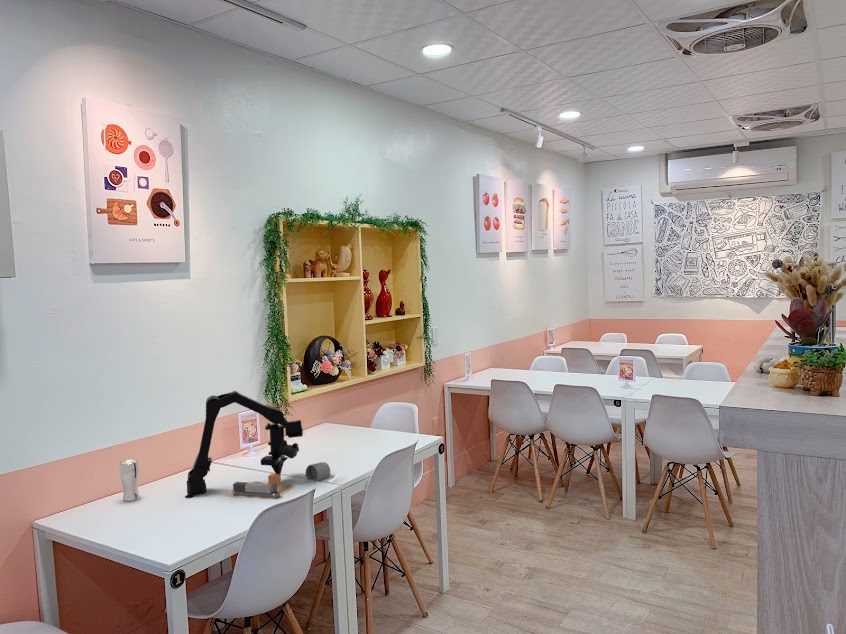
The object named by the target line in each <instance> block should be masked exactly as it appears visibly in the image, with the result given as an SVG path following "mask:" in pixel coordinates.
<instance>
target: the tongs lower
mask: <svg viewBox="0 0 846 634" xmlns="http://www.w3.org/2000/svg"><path fill="white" fill-rule="evenodd" d="M232 492H233V491H232ZM233 493H234V495H236V496H251V497H265V498H272V499H271V500H274V499H276V498H279V497H280V492H277V484H273V492H272V493H258V492H238V491H234V492H233ZM280 498H281V497H280ZM280 498H279V499H280Z"/></svg>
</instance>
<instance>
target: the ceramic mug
mask: <svg viewBox="0 0 846 634" xmlns="http://www.w3.org/2000/svg"><path fill="white" fill-rule="evenodd" d="M330 476H331V468H330V465H329V464H328V463H327V462H323V461H322V462H316V463H313V464H309V465H307V467H306V468H305V475H304V477H305V478H306V479H307V480H310V479H313V480H315V482H319V481H322V480H325V479H327V478H329V477H330Z"/></svg>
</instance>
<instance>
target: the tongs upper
mask: <svg viewBox="0 0 846 634" xmlns="http://www.w3.org/2000/svg"><path fill="white" fill-rule="evenodd" d="M248 482H249V481H247V482H245V481H235V482H234V483H233V484H232V487H233V488H232V490H233V491H238V492H258V493H272V492H273V484H259V483H248ZM233 491H232V492H233Z"/></svg>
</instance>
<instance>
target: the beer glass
mask: <svg viewBox="0 0 846 634" xmlns="http://www.w3.org/2000/svg"><path fill="white" fill-rule="evenodd" d="M119 477H120V481H121V485H122V488H123V489H122V490H123V494H122V495H123V497H122V501H124V502H127V503H128V502H134V501H137V500H139V499H140V493H139V481H140V465H139V460H138V459H135V458H134V459H132V458H131V459H127V460H125V459H124V460H122V461H120V462H119Z"/></svg>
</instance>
